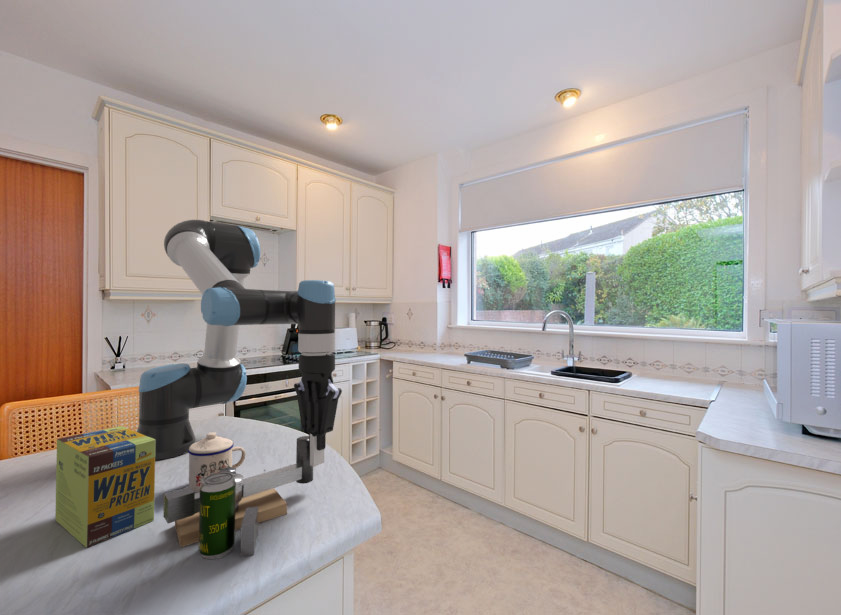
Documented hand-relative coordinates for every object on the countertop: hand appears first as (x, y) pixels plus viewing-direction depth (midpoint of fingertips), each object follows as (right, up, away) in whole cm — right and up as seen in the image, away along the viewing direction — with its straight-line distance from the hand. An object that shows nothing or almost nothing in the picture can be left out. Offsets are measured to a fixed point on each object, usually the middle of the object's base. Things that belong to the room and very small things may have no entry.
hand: (317, 463), depth 83 cm
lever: (-12, -4, -6) cm, 14 cm away
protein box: (-37, -7, -10) cm, 39 cm away
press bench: (-15, -7, -9) cm, 19 cm away
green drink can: (-12, -8, -18) cm, 23 cm away
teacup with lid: (-25, -7, +7) cm, 27 cm away
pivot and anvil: (-11, -7, -13) cm, 18 cm away
